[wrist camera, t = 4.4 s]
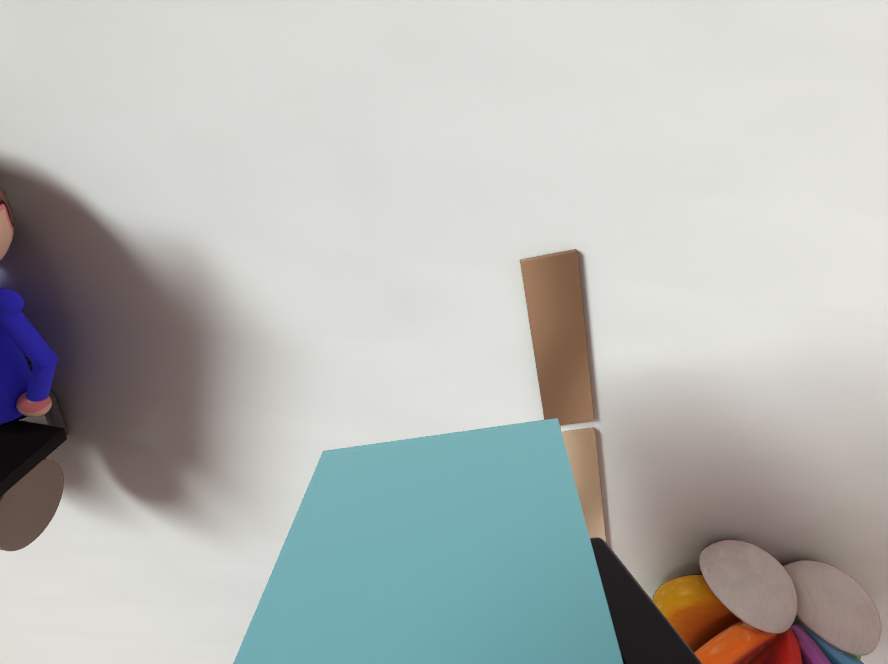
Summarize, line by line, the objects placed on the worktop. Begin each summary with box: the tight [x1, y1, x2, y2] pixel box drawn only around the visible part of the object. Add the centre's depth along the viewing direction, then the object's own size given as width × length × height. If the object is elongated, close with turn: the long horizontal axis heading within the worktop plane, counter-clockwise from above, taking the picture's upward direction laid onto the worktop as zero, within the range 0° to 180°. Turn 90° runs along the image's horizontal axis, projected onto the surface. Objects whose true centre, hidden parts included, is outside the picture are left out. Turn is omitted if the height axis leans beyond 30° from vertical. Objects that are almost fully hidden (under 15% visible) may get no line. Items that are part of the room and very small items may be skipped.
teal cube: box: [234, 418, 623, 664], centre depth 8 cm, size 4×4×4 cm
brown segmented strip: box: [520, 249, 606, 542], centre depth 22 cm, size 2×23×1 cm, turn 12°
